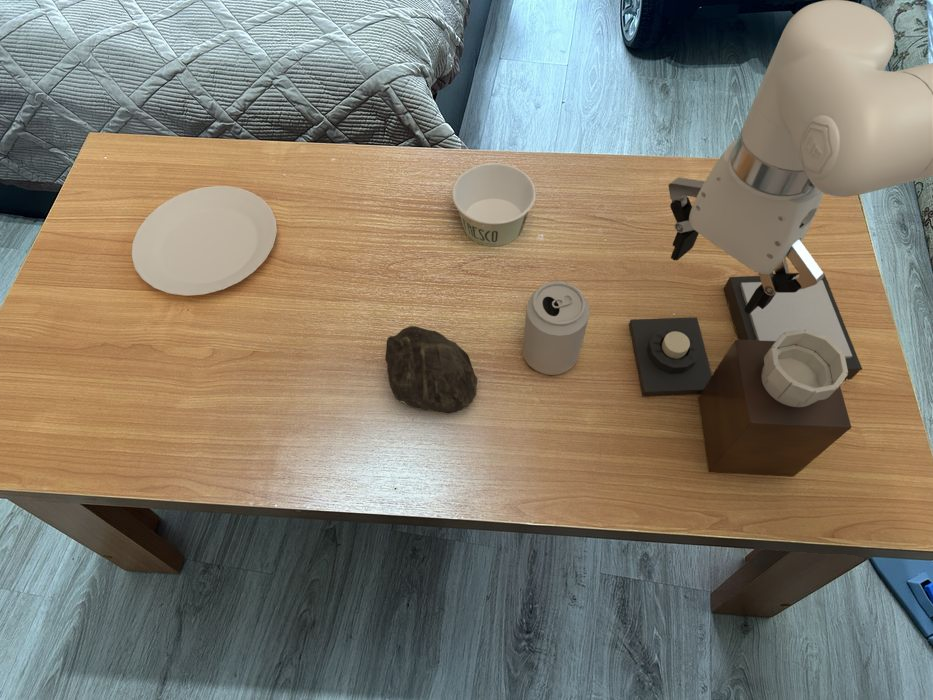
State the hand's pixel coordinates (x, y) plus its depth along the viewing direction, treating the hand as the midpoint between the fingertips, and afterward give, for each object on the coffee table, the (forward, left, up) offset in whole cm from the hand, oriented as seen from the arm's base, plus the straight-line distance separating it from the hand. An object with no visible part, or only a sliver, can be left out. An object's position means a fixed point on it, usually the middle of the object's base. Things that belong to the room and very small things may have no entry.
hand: (716, 278), depth 71 cm
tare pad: (+1, 0, -18) cm, 18 cm away
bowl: (-12, +3, -4) cm, 13 cm away
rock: (+21, +24, -18) cm, 37 cm away
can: (+13, +10, -18) cm, 24 cm away
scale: (-8, -14, -18) cm, 24 cm away
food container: (+34, -2, -18) cm, 38 cm away
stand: (-12, +3, -18) cm, 22 cm away
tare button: (+1, 0, -15) cm, 15 cm away
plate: (+62, +30, -18) cm, 71 cm away
